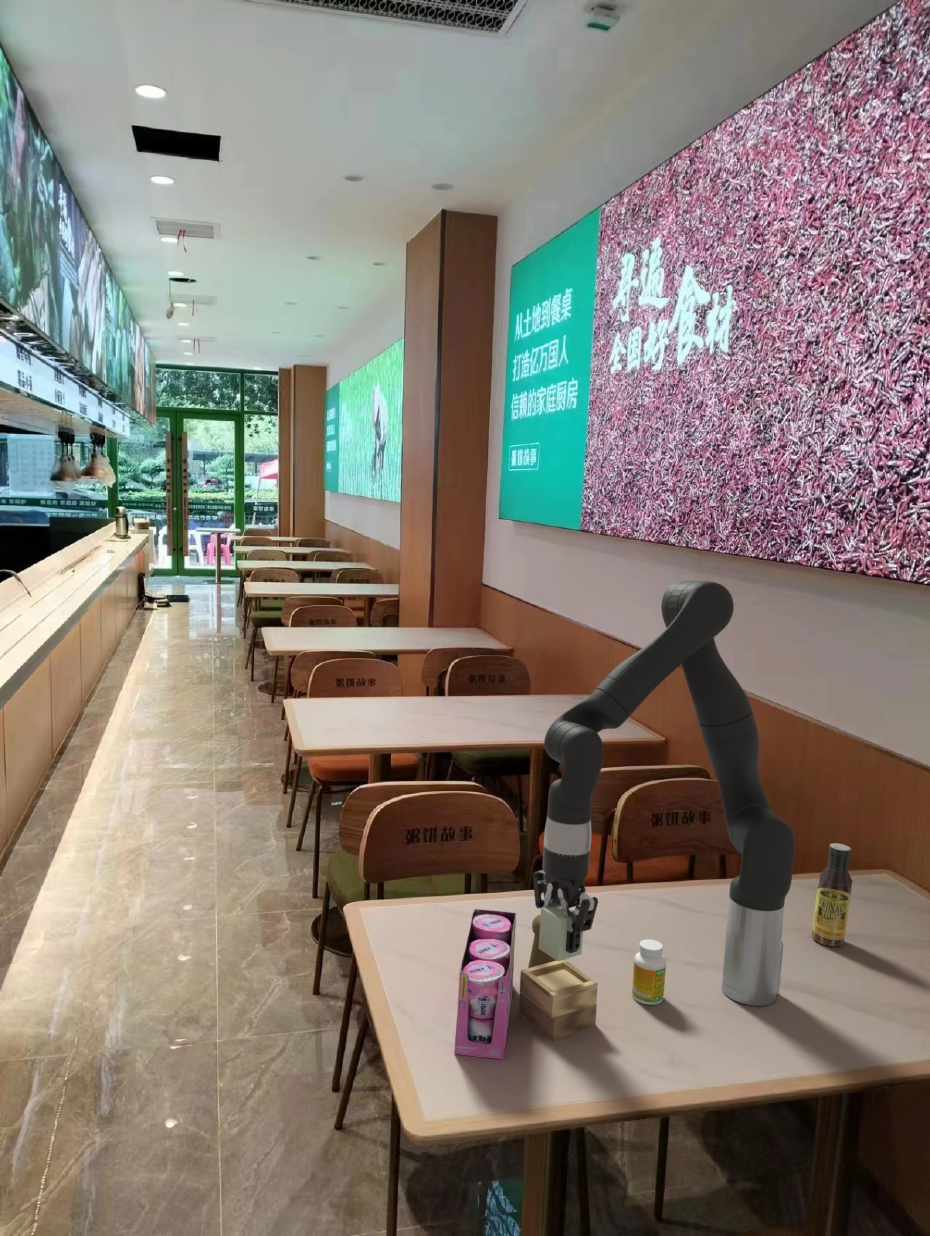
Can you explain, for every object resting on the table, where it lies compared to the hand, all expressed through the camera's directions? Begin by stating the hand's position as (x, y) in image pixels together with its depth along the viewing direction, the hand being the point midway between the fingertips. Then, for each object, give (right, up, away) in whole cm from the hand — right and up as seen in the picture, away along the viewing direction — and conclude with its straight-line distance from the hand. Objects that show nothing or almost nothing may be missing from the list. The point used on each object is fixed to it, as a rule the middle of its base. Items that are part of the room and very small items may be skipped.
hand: (560, 943), depth 149 cm
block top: (0, -9, +1) cm, 9 cm away
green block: (0, -1, 0) cm, 1 cm away
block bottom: (-1, -13, +1) cm, 13 cm away
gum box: (-12, -13, +1) cm, 18 cm away
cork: (-1, -11, +15) cm, 19 cm away
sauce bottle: (+57, -12, +34) cm, 68 cm away
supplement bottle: (+16, -13, +9) cm, 22 cm away
